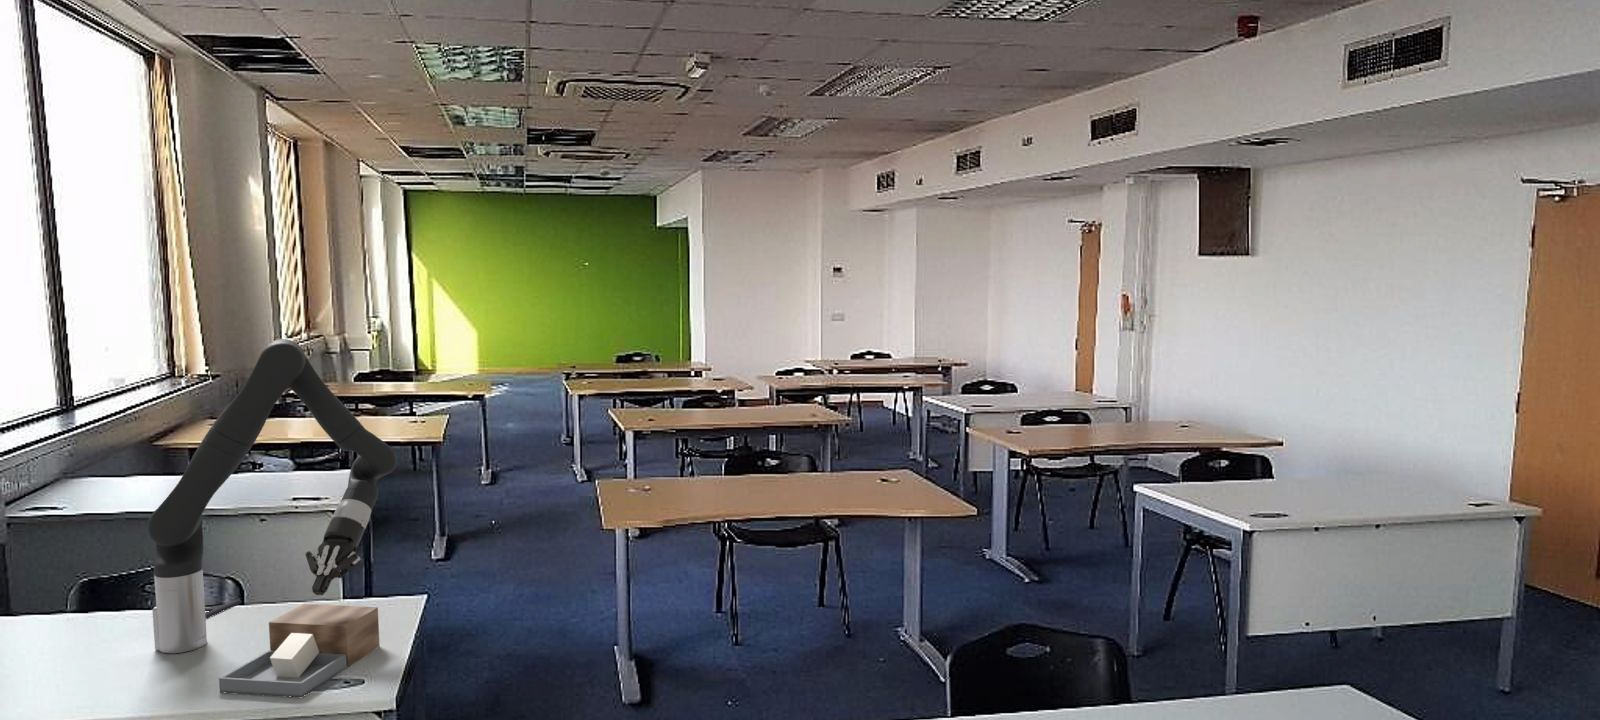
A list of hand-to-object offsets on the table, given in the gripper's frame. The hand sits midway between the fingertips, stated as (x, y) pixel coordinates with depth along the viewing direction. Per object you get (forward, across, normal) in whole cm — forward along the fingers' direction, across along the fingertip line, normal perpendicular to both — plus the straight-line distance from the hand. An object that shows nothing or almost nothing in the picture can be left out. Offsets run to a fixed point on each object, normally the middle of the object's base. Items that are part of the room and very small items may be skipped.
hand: (317, 593), depth 219 cm
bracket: (-6, -50, +28) cm, 58 cm away
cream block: (+10, 0, +2) cm, 10 cm away
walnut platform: (+9, 0, +12) cm, 15 cm away
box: (+19, 0, +2) cm, 19 cm away
